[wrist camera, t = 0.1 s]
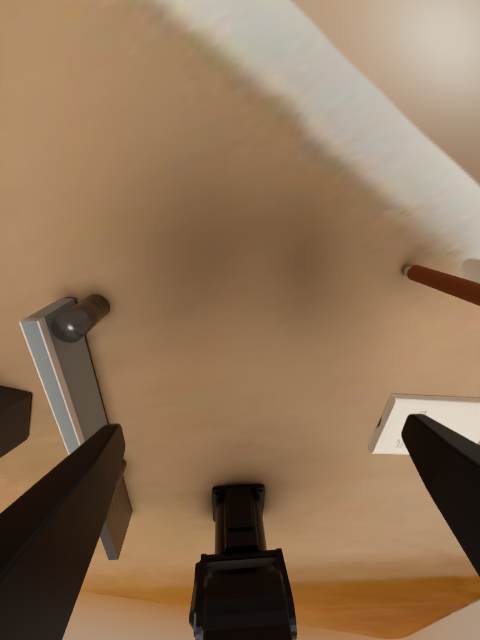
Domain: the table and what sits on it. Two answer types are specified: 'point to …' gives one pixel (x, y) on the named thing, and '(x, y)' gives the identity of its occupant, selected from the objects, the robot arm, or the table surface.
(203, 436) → the table surface
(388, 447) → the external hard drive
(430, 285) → the magnifying glass
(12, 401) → the phone stand
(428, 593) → the table surface
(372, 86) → the table surface
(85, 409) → the grey flat bar
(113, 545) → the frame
